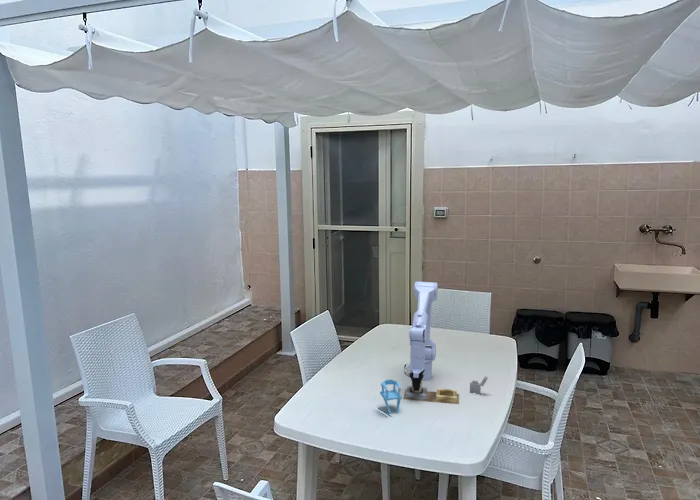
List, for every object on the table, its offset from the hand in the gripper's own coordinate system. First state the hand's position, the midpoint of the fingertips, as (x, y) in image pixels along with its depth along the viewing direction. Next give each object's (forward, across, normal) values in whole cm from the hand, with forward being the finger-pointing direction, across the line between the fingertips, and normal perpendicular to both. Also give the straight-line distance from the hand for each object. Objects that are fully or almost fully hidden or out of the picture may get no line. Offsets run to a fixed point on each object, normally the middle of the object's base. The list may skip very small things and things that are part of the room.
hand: (416, 388), depth 204 cm
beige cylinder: (+3, 0, 0) cm, 3 cm away
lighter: (+4, -9, +25) cm, 27 cm away
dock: (+4, 0, +6) cm, 7 cm away
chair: (+4, +15, -9) cm, 18 cm away
